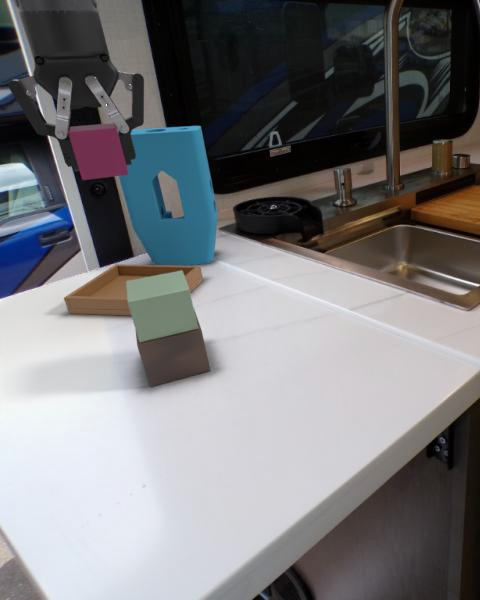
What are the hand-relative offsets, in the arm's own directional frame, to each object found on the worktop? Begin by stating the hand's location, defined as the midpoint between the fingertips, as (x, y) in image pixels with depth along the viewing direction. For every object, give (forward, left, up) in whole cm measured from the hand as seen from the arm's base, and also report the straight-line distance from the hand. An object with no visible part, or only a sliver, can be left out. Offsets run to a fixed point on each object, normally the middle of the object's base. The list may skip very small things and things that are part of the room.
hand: (103, 166), depth 64 cm
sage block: (+14, -16, -13) cm, 25 cm away
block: (0, +13, -18) cm, 22 cm away
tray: (0, 0, -18) cm, 18 cm away
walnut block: (+14, -16, -18) cm, 28 cm away
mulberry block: (0, 0, -1) cm, 1 cm away
